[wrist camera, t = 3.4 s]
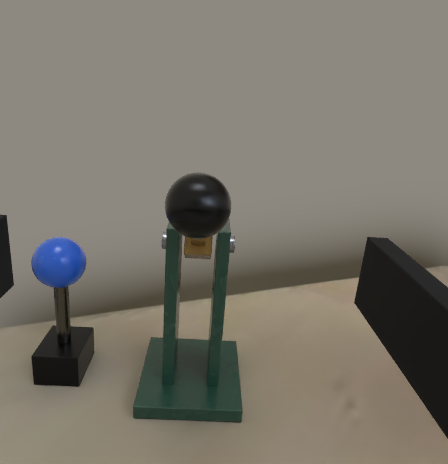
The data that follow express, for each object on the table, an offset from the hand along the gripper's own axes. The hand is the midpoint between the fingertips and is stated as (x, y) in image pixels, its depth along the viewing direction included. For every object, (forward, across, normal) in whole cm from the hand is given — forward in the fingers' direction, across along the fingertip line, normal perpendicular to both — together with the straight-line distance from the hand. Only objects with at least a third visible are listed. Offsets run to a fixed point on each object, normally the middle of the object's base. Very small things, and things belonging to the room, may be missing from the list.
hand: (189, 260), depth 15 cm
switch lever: (+12, 0, -4) cm, 13 cm away
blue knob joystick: (+19, -12, -20) cm, 30 cm away
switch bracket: (+18, 0, -20) cm, 27 cm away
